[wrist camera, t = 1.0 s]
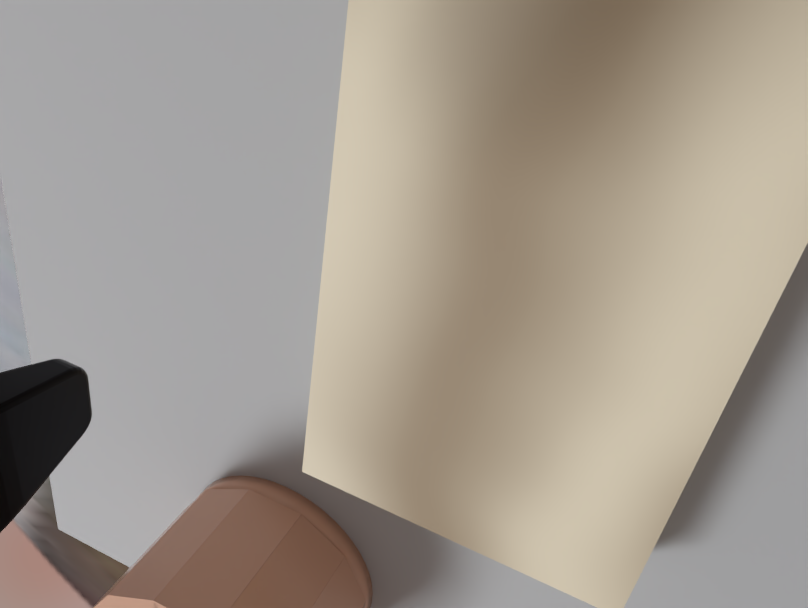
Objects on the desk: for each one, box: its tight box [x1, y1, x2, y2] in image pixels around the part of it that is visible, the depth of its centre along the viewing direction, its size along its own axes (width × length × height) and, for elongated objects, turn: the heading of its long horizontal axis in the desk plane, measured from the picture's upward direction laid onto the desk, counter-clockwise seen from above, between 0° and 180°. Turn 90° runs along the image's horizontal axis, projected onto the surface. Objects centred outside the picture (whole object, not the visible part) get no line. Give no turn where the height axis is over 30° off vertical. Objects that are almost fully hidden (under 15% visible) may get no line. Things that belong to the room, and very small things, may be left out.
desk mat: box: [0, 0, 808, 608], centre depth 18 cm, size 22×23×1 cm
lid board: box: [302, 0, 808, 608], centre depth 14 cm, size 7×12×2 cm, turn 171°
